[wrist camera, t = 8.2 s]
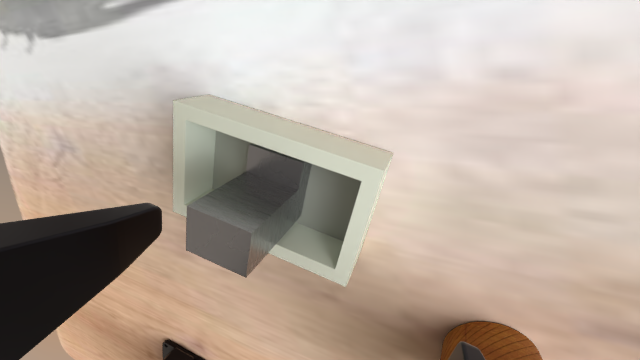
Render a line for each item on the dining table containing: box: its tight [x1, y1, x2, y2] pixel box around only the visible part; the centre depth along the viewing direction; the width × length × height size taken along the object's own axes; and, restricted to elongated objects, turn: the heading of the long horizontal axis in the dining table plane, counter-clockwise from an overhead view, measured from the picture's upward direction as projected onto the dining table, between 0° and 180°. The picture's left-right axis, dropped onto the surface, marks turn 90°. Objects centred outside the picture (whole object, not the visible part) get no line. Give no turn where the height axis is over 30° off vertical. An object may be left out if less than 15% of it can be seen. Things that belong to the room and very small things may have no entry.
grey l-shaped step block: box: [186, 143, 312, 277], centre depth 19 cm, size 5×4×8 cm
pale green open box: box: [173, 95, 393, 287], centre depth 21 cm, size 8×14×4 cm, turn 78°
